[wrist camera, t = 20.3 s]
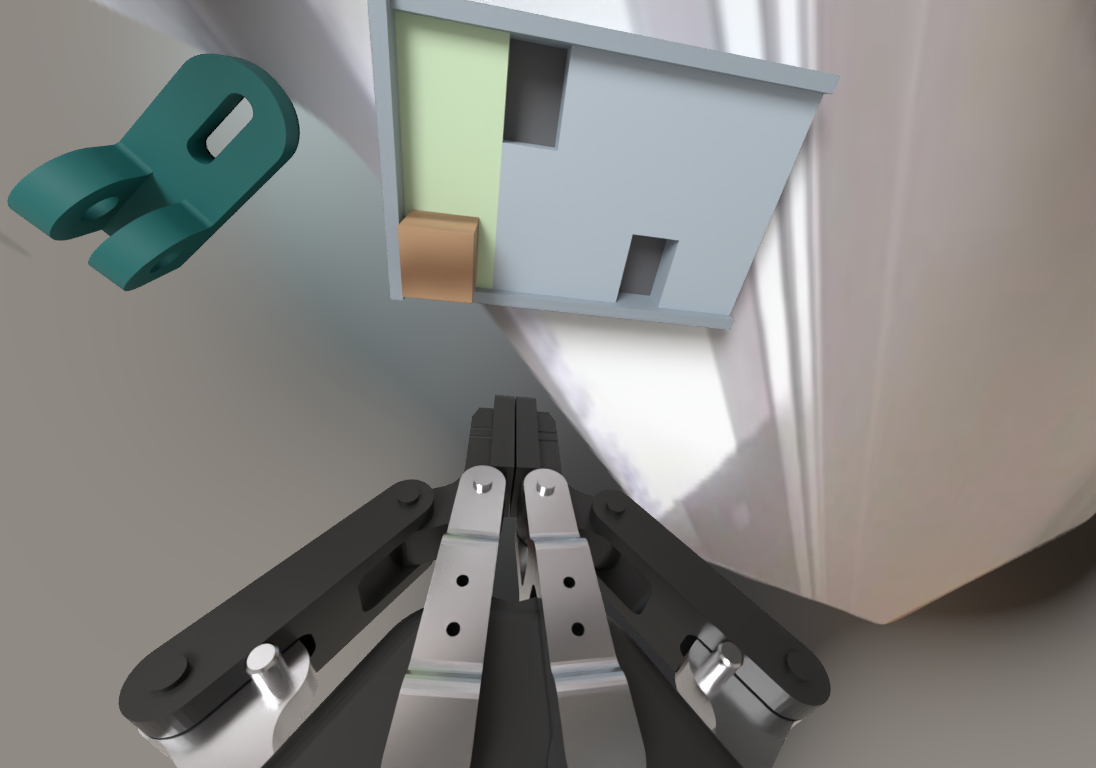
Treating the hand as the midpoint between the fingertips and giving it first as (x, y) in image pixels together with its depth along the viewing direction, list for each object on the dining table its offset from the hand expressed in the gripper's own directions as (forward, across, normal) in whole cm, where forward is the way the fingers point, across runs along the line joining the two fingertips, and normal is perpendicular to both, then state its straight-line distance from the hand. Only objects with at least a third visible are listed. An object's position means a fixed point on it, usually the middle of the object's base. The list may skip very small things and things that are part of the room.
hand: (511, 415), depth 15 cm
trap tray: (+25, -6, -4) cm, 26 cm away
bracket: (+25, +24, -2) cm, 35 cm away
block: (+22, +5, +1) cm, 23 cm away
